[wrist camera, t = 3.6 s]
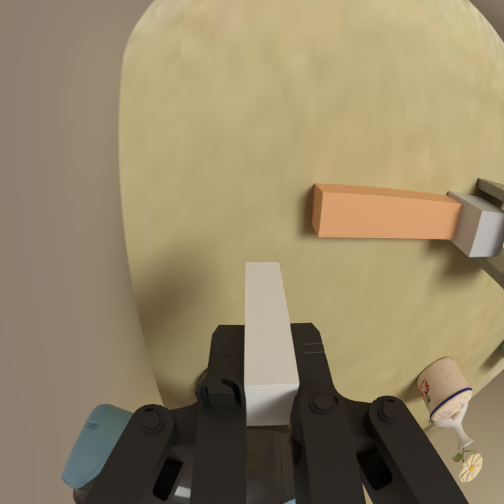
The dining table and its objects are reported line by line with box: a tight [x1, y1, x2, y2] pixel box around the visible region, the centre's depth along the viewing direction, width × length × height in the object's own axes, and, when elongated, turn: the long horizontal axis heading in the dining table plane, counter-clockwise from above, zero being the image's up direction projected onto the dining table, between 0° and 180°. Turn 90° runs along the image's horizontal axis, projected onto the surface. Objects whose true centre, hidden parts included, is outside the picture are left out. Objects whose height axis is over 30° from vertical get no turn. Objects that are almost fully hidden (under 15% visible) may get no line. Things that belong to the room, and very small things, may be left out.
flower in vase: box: [434, 402, 483, 482], centre depth 40 cm, size 13×11×25 cm
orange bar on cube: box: [312, 183, 504, 257], centre depth 23 cm, size 22×5×6 cm, turn 90°
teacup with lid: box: [417, 357, 472, 421], centre depth 35 cm, size 12×9×12 cm
